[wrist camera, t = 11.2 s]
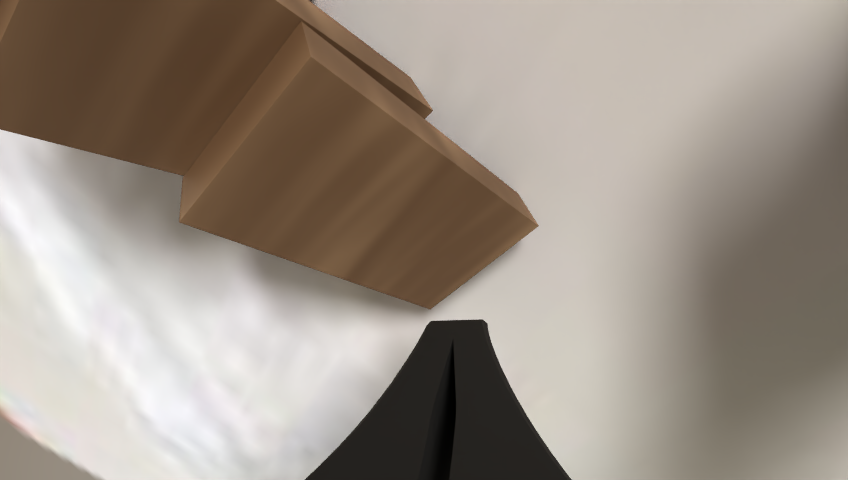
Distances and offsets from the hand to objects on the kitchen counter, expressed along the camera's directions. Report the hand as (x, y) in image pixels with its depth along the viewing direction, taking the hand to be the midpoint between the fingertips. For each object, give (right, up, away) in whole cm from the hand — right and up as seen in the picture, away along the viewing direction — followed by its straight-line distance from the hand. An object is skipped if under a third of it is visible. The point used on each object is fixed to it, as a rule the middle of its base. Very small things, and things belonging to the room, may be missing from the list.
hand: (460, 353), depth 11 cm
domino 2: (+1, +2, +5) cm, 6 cm away
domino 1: (-3, +6, +4) cm, 8 cm away
